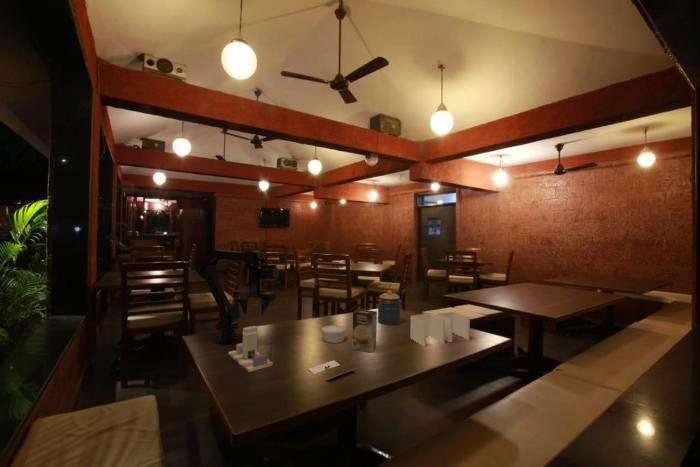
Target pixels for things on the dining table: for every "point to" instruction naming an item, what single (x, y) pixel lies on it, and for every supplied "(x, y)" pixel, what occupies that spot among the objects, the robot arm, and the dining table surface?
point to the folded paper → (325, 367)
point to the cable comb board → (248, 361)
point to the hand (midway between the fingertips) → (253, 314)
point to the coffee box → (364, 330)
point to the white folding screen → (439, 326)
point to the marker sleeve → (249, 341)
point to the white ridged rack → (253, 356)
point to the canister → (389, 309)
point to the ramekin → (334, 333)
